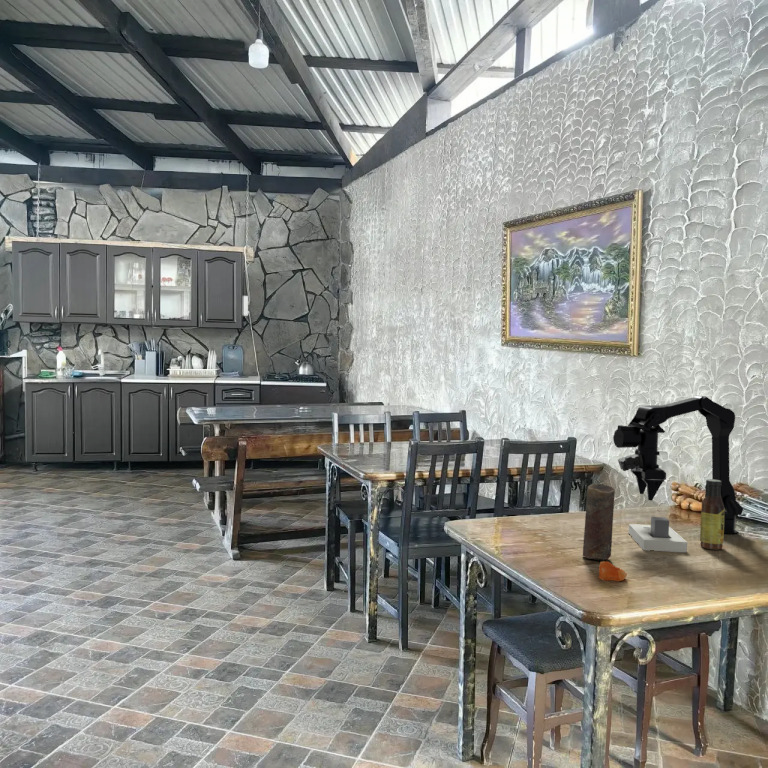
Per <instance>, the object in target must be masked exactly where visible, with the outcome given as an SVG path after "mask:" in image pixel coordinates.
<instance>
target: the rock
mask: <svg viewBox="0 0 768 768" xmlns="http://www.w3.org/2000/svg"><path fill="white" fill-rule="evenodd" d="M598 570H599V572H598V573H599V575H598V578H599V580H602V581H614V582H622V581H624V580H625V578H626V577H627V575H628V573H627V572H625V570H623V569H621V568H620V567H618V566H615V565H613V564H612V563H611V562H609V561H605V560H603V561H600V562H599V566H598Z"/></svg>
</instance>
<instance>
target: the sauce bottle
mask: <svg viewBox="0 0 768 768" xmlns="http://www.w3.org/2000/svg"><path fill="white" fill-rule="evenodd" d="M705 485H707V492H706V491H705V494H707V495H706V497H705V496H704V498H703V499H702V501H701V511H700V530H699V532H700V534H699V535H700V536H699V538H700V539H699V541H700V546H701V547H702V548H704V549H706V550H712V551H713V550H715V551H719V550H722V549H723V546H724V545H723V544H724V538H725V537H724V536H725V535H724V534H725V533H724V513H725V508H724V504H723V501H722V498H721V494H720V490H721V481H720V480H714V479H712V478H710V479H706V480H705Z"/></svg>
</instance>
